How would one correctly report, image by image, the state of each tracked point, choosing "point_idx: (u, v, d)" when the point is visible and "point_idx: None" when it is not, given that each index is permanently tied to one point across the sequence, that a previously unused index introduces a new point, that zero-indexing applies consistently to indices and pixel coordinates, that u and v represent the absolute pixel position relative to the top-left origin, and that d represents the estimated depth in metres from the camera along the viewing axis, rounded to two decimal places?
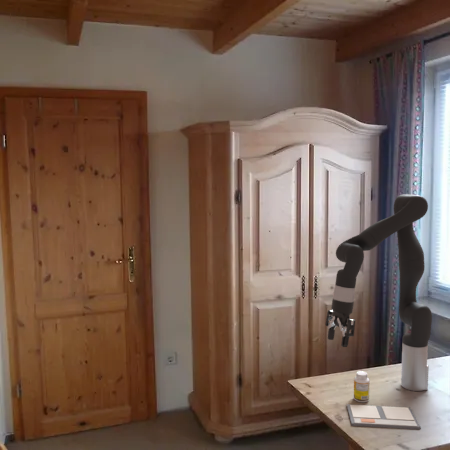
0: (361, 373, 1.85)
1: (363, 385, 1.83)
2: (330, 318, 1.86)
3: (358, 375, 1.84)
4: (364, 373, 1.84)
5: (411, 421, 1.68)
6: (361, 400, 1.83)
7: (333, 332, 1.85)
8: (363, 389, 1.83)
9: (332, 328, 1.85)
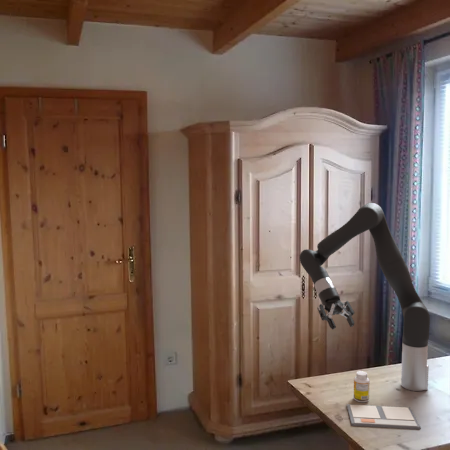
0: (361, 373, 1.85)
1: (363, 385, 1.83)
2: (347, 309, 2.01)
3: (358, 375, 1.84)
4: (364, 373, 1.84)
5: (411, 421, 1.68)
6: (361, 400, 1.83)
7: (349, 319, 1.97)
8: (363, 389, 1.83)
9: (347, 316, 1.98)
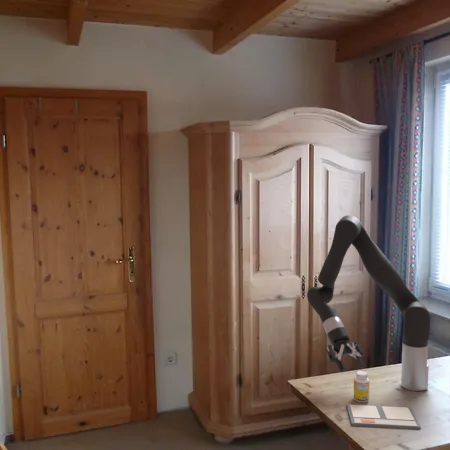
0: (361, 373, 1.85)
1: (363, 385, 1.83)
2: (356, 349, 1.96)
3: (358, 375, 1.84)
4: (364, 373, 1.84)
5: (411, 421, 1.68)
6: (361, 400, 1.83)
7: (359, 360, 1.92)
8: (363, 389, 1.83)
9: (357, 357, 1.94)
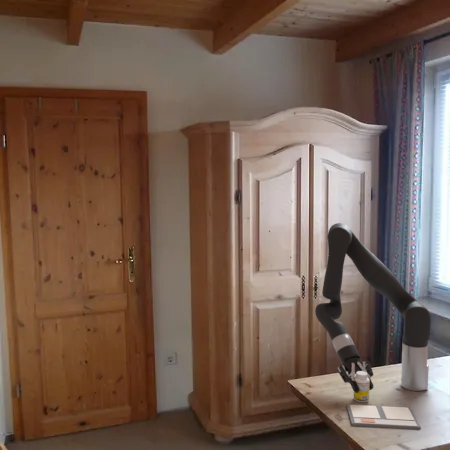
0: (361, 373, 1.85)
1: (363, 385, 1.83)
2: (366, 369, 1.90)
3: (358, 375, 1.84)
4: (364, 373, 1.84)
5: (411, 421, 1.68)
6: (361, 400, 1.83)
7: None
8: (363, 389, 1.83)
9: None
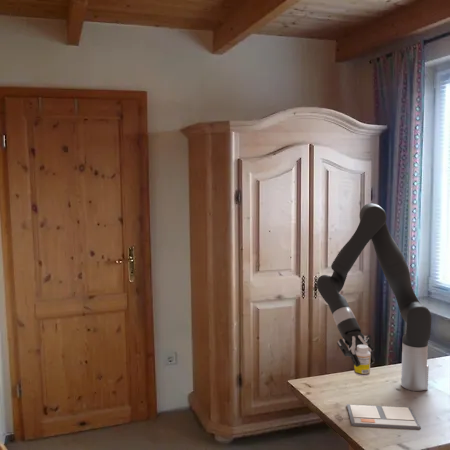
0: (362, 346, 1.79)
1: (364, 359, 1.77)
2: (368, 343, 1.84)
3: (359, 348, 1.78)
4: (365, 346, 1.79)
5: (411, 421, 1.68)
6: (362, 374, 1.77)
7: None
8: (363, 363, 1.77)
9: None
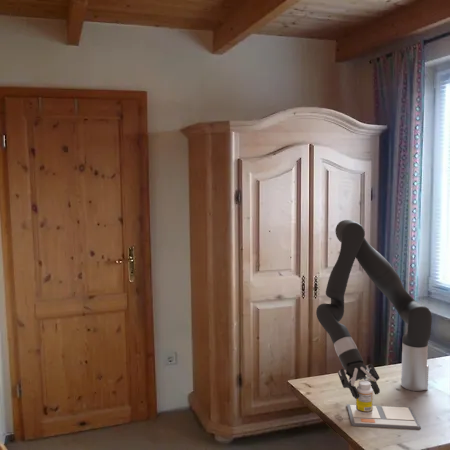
0: (364, 383, 1.73)
1: (366, 396, 1.71)
2: (371, 373, 1.79)
3: (361, 385, 1.73)
4: (367, 383, 1.73)
5: (411, 421, 1.68)
6: (364, 412, 1.72)
7: (374, 385, 1.75)
8: (366, 400, 1.71)
9: (372, 382, 1.77)
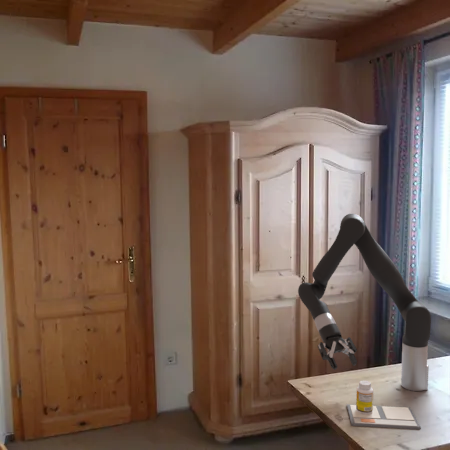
0: (364, 383, 1.73)
1: (367, 396, 1.71)
2: (349, 346, 1.91)
3: (361, 385, 1.73)
4: (367, 383, 1.73)
5: (411, 421, 1.68)
6: (364, 412, 1.72)
7: (351, 357, 1.87)
8: (366, 400, 1.71)
9: (349, 354, 1.88)
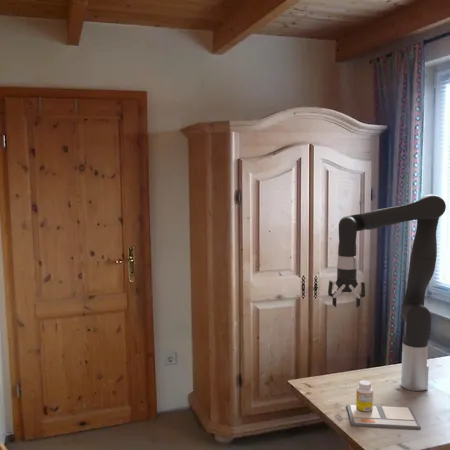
0: (364, 383, 1.73)
1: (367, 396, 1.71)
2: (361, 288, 2.00)
3: (361, 385, 1.73)
4: (367, 383, 1.73)
5: (411, 421, 1.68)
6: (364, 412, 1.72)
7: (356, 300, 2.00)
8: (366, 400, 1.71)
9: None
